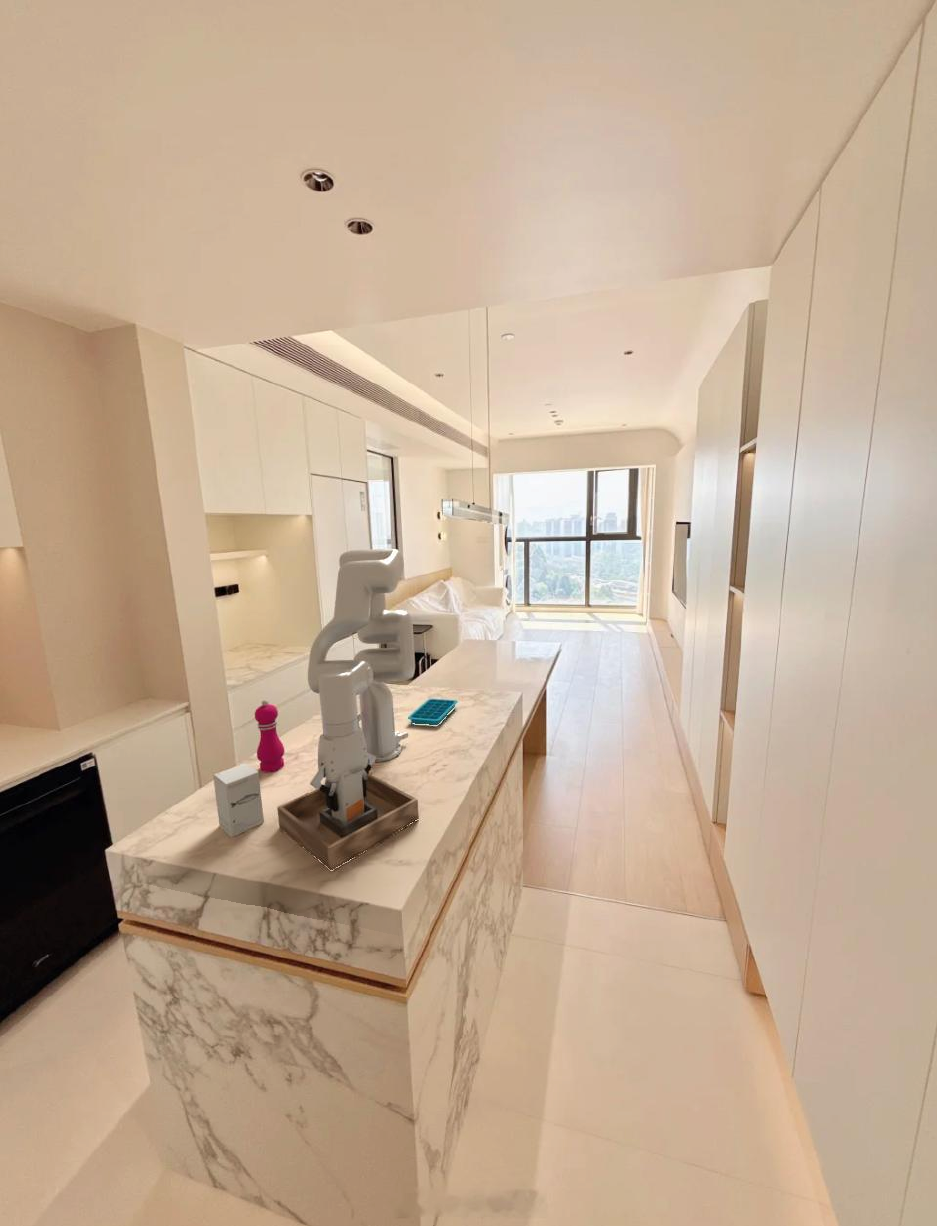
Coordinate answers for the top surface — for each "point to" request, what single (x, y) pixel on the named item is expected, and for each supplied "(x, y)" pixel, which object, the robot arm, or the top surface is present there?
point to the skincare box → (349, 797)
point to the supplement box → (238, 799)
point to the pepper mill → (269, 738)
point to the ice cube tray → (432, 711)
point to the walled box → (343, 842)
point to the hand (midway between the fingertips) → (347, 801)
